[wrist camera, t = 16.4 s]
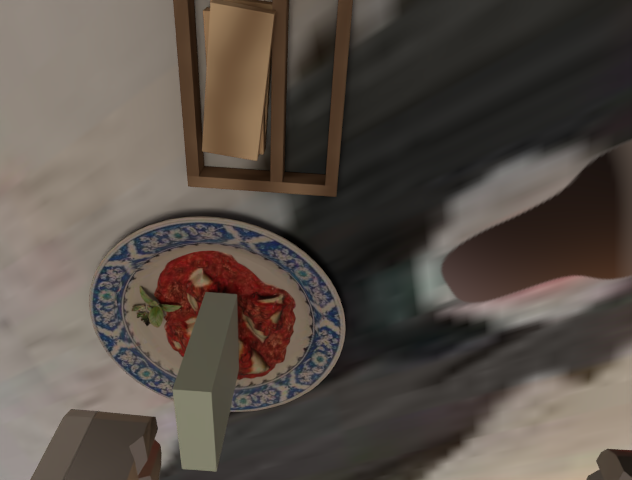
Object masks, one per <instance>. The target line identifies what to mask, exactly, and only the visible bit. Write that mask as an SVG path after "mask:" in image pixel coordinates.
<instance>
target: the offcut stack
mask: <svg viewBox="0 0 632 480" xmlns="http://www.w3.org/2000/svg"><path fill="white" fill-rule="evenodd" d="M275 16H276V11H275V10H272V2H267V1H260V0H210V8H208V7H207V8H206V9H204V10H203V18H204V33H205V48H206V64H207V72H206V89H205V107H204V124H203V142H202V151H203V152H209V153H214V154H220V155H226V156H232V157H238V158H243V159H249V160H255V161H257V159H258V156H259V154H264V151H265V148H266V134H267V120H268V105H269V90H270V75H271V60H272V41H273V32H274V24H275Z"/></svg>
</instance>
